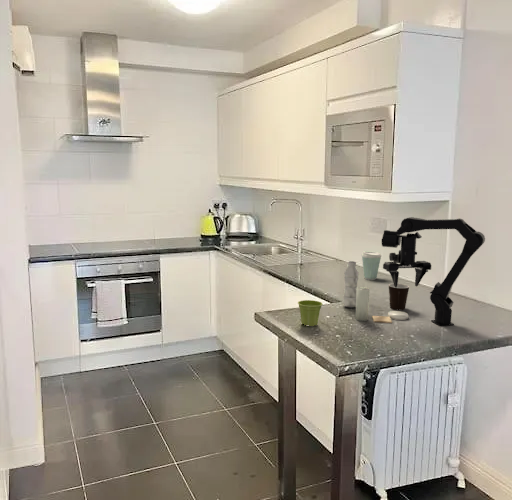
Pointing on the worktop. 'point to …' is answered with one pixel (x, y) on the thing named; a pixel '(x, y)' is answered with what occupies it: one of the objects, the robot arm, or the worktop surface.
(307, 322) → the plant pot
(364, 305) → the tumbler
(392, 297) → the coffee mug
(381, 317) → the coaster
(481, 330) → the worktop surface
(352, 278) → the plastic bottle
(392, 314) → the ivory rounded dome part
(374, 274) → the disposable coffee cup
